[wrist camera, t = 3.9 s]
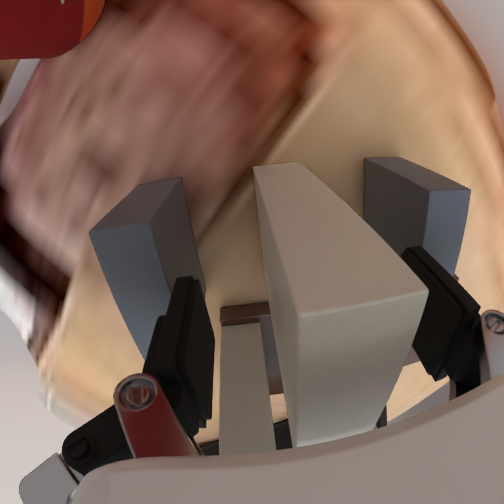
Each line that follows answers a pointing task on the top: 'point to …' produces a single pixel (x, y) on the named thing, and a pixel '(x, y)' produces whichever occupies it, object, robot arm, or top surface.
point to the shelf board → (272, 337)
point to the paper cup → (45, 26)
